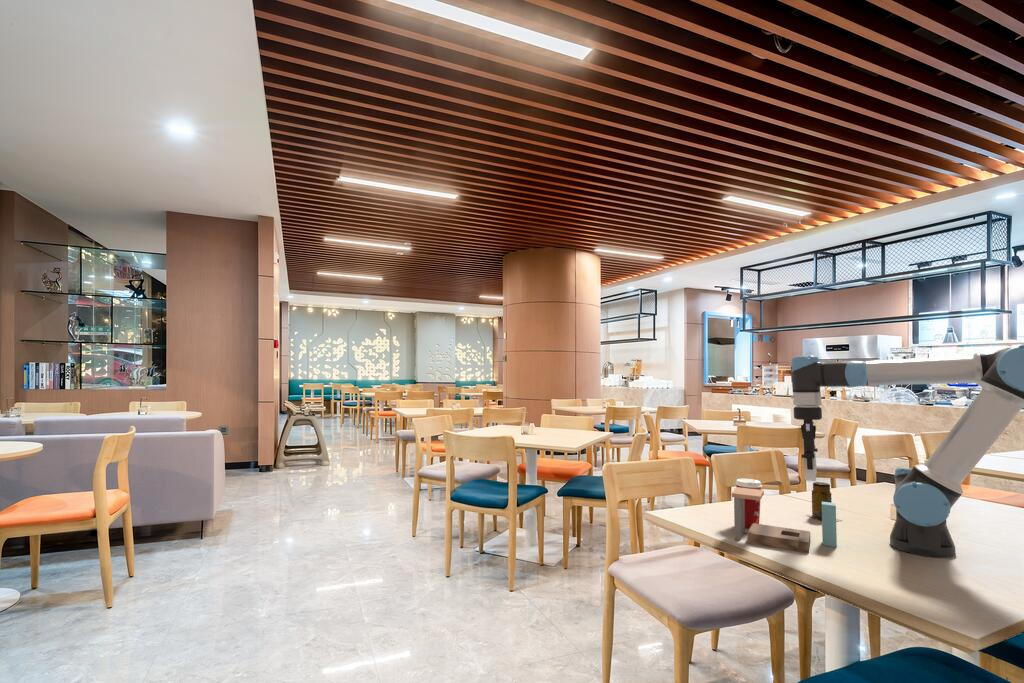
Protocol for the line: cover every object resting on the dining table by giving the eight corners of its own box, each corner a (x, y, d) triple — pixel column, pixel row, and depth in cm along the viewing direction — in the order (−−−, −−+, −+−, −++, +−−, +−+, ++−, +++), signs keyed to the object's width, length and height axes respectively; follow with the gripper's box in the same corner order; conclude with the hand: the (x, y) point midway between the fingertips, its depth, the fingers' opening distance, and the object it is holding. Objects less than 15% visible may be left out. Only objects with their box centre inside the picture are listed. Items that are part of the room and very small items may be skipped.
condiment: (822, 514, 191) (822, 481, 191) (842, 521, 182) (841, 486, 183) (805, 515, 189) (804, 481, 190) (824, 522, 181) (823, 486, 181)
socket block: (810, 541, 160) (810, 531, 160) (808, 553, 150) (808, 542, 150) (752, 532, 168) (752, 523, 168) (747, 543, 158) (747, 532, 158)
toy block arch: (764, 535, 166) (763, 490, 166) (760, 544, 157) (760, 496, 158) (737, 531, 170) (736, 487, 170) (732, 539, 161) (731, 493, 162)
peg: (836, 543, 158) (835, 503, 159) (836, 547, 155) (835, 505, 155) (822, 541, 160) (821, 501, 160) (822, 545, 157) (821, 504, 157)
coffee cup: (765, 530, 170) (764, 483, 171) (738, 529, 172) (737, 482, 173) (759, 523, 179) (758, 478, 179) (733, 521, 180) (732, 477, 181)
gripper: (795, 404, 174) (799, 469, 173) (791, 408, 153) (795, 482, 151) (821, 404, 170) (825, 471, 169) (821, 408, 149) (825, 485, 147)
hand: (811, 476), depth 160 cm, fingers open, 13 cm apart
